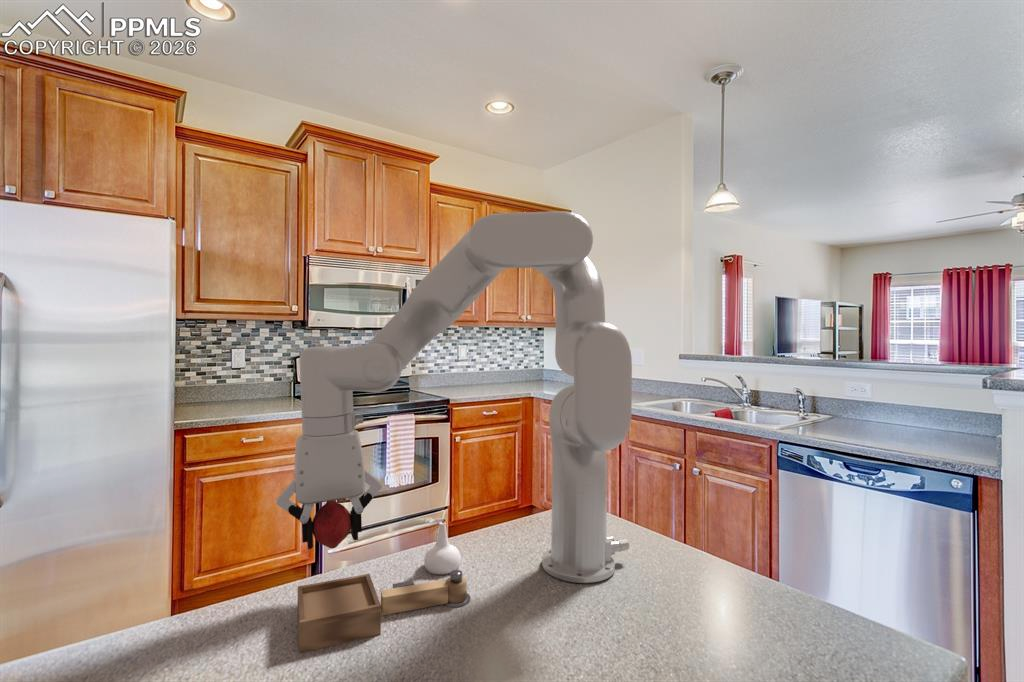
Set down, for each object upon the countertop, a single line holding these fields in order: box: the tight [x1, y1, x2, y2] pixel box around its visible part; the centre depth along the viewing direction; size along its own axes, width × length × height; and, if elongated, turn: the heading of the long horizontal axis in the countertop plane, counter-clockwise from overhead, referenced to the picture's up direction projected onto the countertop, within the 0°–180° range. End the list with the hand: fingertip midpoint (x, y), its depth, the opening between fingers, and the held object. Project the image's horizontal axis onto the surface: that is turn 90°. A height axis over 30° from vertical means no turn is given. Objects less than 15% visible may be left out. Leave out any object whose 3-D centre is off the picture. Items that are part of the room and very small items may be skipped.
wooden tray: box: [296, 573, 382, 654], centre depth 69 cm, size 10×10×4 cm
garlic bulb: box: [423, 522, 462, 575], centre depth 87 cm, size 6×6×8 cm
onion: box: [312, 500, 352, 550], centre depth 78 cm, size 6×6×8 cm
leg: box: [380, 576, 468, 616], centre depth 74 cm, size 13×3×2 cm, turn 111°
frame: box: [392, 569, 471, 608], centre depth 75 cm, size 11×5×4 cm, turn 115°
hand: (332, 540), depth 78 cm, fingers closed on onion, 5 cm apart
